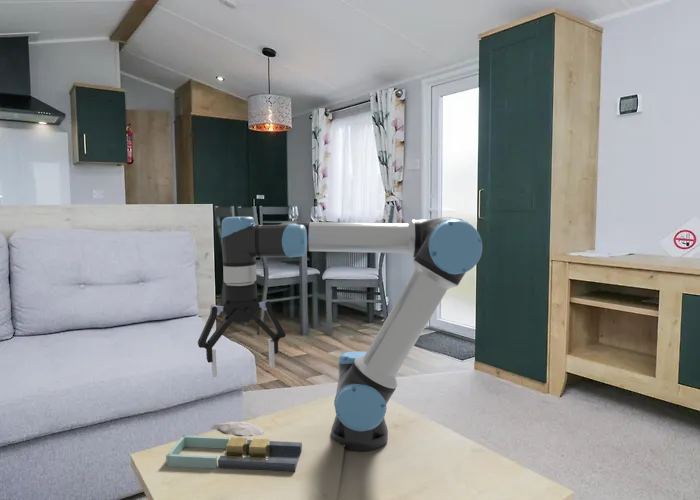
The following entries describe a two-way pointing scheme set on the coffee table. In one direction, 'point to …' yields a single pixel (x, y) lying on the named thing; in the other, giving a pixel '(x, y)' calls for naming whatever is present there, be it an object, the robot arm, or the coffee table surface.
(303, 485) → the coffee table surface
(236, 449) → the chip
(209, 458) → the tray
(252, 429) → the stone tool
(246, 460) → the slot board
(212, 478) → the coffee table surface
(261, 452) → the chip
